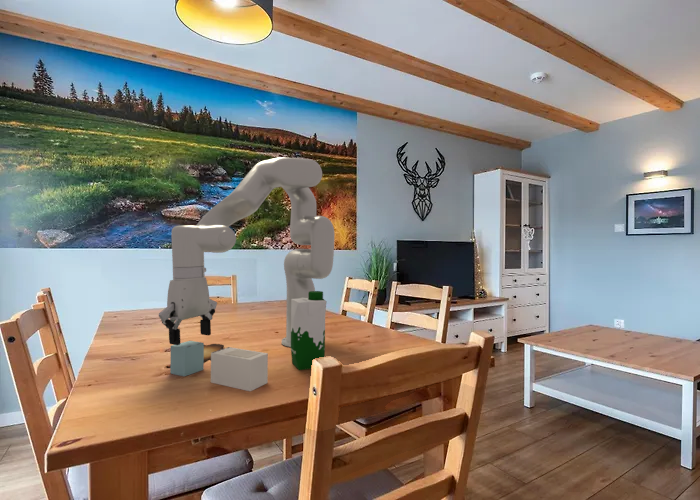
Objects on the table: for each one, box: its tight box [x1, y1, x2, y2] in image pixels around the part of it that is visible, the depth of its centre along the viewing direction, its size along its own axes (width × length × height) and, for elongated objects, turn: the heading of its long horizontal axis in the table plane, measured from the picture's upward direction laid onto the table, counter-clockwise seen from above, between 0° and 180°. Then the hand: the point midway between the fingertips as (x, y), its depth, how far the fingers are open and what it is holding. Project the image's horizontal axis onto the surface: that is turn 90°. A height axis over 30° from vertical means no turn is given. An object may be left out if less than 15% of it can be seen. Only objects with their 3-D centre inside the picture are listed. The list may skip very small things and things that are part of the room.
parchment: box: [166, 343, 225, 368], centre depth 111 cm, size 25×10×1 cm, turn 0°
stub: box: [169, 340, 205, 377], centre depth 97 cm, size 6×5×7 cm
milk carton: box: [290, 290, 327, 371], centre depth 103 cm, size 9×9×20 cm
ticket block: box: [210, 346, 269, 392], centre depth 89 cm, size 6×12×7 cm, turn 64°
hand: (191, 339), depth 98 cm, fingers open, 9 cm apart
